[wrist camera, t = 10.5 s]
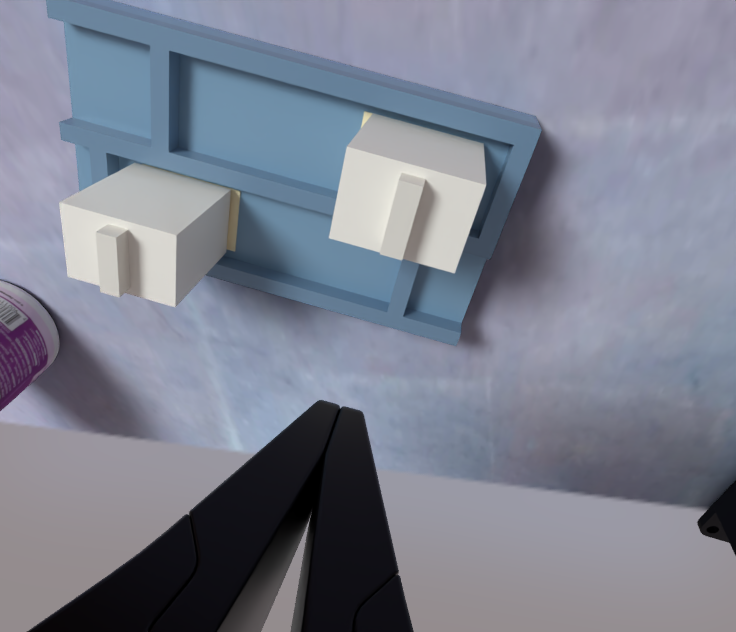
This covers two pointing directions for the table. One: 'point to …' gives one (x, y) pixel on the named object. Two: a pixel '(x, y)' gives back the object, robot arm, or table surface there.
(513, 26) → the table surface
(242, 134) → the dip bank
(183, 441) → the table surface
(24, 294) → the pill bottle
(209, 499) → the robot arm
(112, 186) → the tab far
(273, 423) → the table surface
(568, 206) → the table surface
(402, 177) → the tab near
